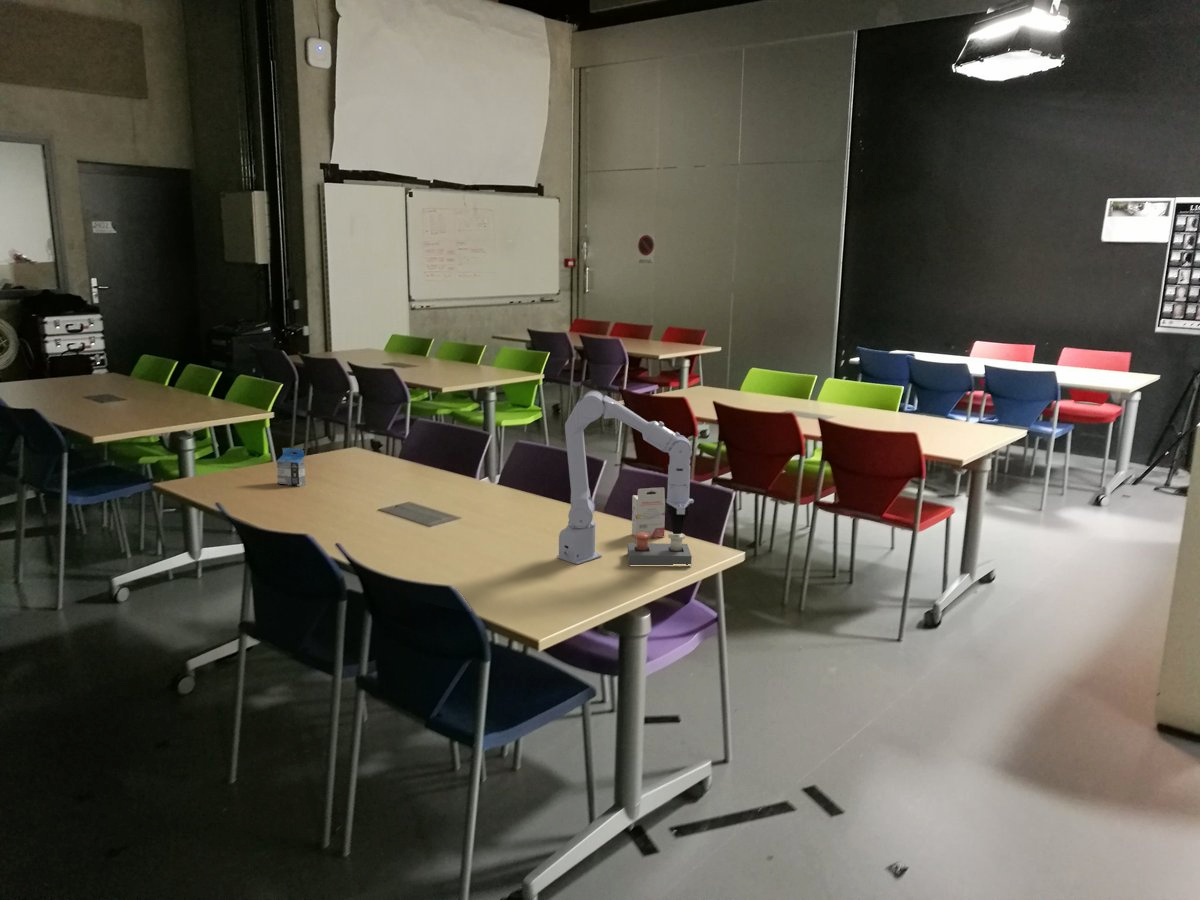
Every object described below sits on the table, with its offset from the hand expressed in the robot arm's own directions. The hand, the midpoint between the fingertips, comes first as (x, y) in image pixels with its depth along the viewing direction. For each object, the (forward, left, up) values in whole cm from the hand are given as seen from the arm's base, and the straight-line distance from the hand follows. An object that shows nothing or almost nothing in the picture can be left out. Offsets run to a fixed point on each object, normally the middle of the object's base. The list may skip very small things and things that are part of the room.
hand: (676, 533), depth 230 cm
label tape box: (-36, +140, -8) cm, 145 cm away
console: (-3, +3, -8) cm, 9 cm away
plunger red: (-6, +6, -4) cm, 10 cm away
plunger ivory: (0, 0, -4) cm, 4 cm away
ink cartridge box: (+11, +19, -8) cm, 23 cm away
